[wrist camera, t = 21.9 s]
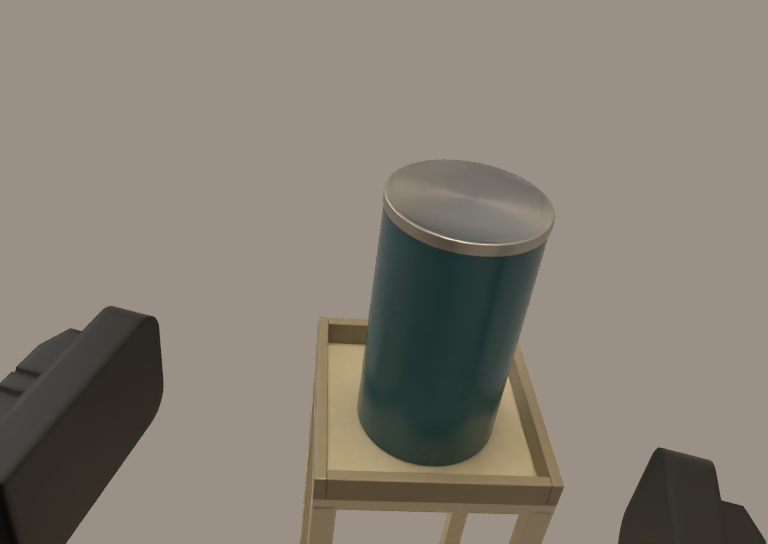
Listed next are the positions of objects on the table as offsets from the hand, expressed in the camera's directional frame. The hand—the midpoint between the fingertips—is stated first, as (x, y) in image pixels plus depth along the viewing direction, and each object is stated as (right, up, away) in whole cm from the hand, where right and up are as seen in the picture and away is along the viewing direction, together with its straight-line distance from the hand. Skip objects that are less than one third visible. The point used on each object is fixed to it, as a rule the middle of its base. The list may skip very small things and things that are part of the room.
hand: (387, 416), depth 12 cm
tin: (+1, -3, +15) cm, 15 cm away
